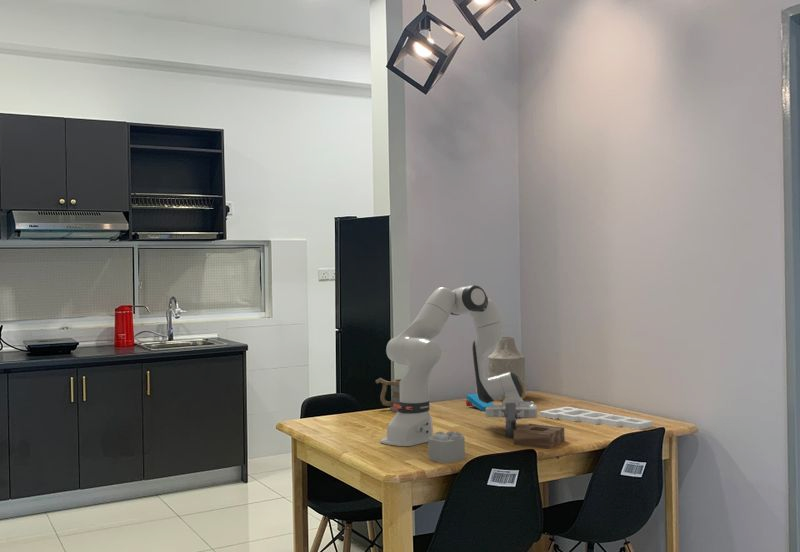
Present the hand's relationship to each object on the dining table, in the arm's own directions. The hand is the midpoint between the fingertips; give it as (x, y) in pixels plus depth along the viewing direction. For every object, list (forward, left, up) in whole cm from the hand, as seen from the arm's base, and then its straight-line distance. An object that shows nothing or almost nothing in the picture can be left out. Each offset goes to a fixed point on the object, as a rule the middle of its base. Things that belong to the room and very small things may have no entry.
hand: (510, 415), depth 287 cm
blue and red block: (+50, +42, -9) cm, 65 cm away
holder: (+45, -16, -9) cm, 49 cm away
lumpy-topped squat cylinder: (-38, +5, -9) cm, 40 cm away
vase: (+81, +42, -9) cm, 92 cm away
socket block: (-2, -13, -9) cm, 15 cm away
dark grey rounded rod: (+1, 0, -9) cm, 9 cm away
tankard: (+27, +72, -9) cm, 78 cm away
